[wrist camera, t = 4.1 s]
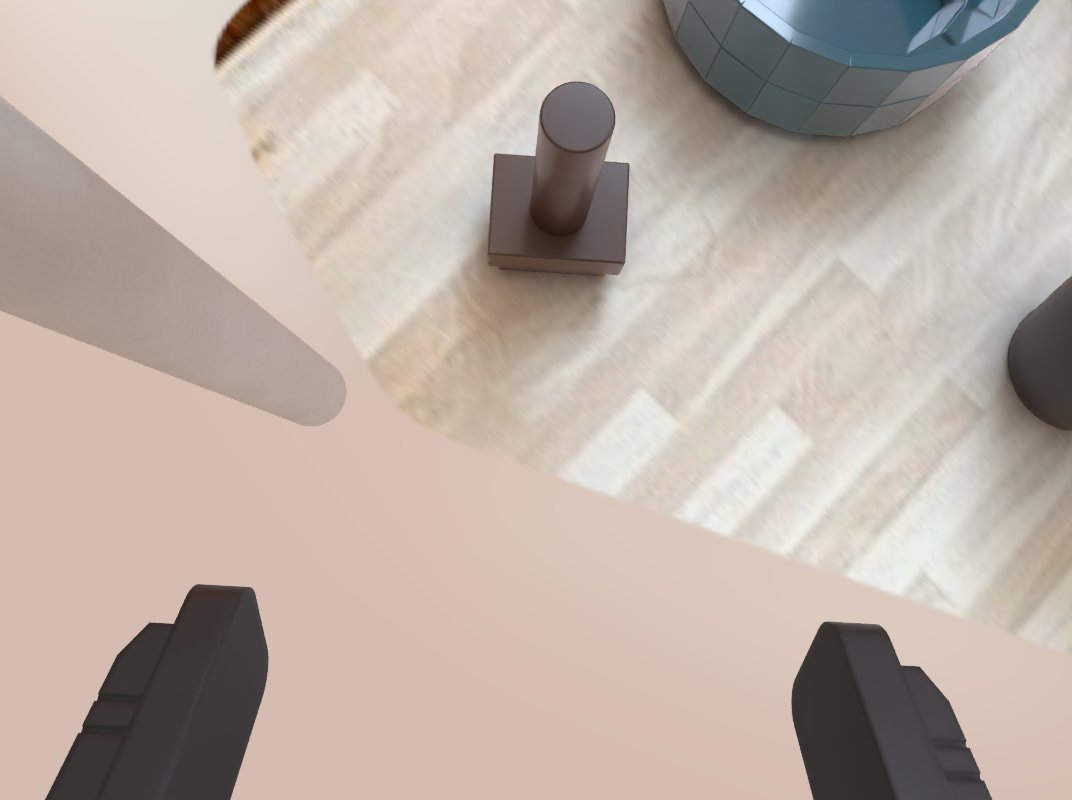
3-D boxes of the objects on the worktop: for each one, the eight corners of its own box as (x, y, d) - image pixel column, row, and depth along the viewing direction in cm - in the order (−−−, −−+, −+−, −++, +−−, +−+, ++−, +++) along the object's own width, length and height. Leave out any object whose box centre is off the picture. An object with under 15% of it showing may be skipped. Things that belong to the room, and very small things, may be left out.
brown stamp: (488, 277, 33) (483, 175, 23) (494, 185, 33) (492, 44, 23) (613, 286, 33) (664, 189, 23) (617, 194, 34) (669, 58, 23)
